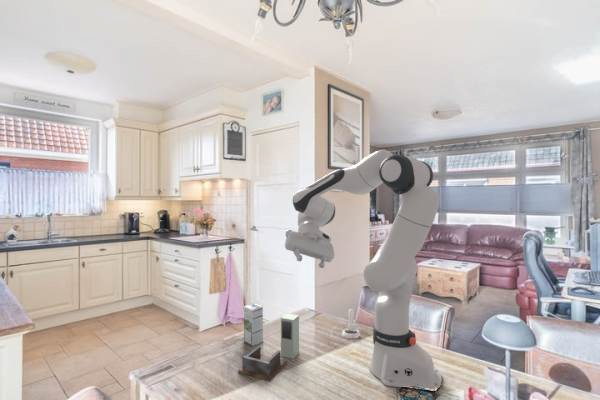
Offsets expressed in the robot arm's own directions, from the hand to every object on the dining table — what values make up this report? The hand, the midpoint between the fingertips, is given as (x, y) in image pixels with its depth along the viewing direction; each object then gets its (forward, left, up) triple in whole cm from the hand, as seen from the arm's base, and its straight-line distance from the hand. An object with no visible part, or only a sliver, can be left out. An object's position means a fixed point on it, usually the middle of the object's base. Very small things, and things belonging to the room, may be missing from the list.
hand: (310, 263), depth 118 cm
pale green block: (+7, +3, -34) cm, 34 cm away
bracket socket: (+11, +16, -34) cm, 39 cm away
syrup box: (+25, 0, -34) cm, 42 cm away
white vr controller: (-9, -23, -34) cm, 42 cm away
